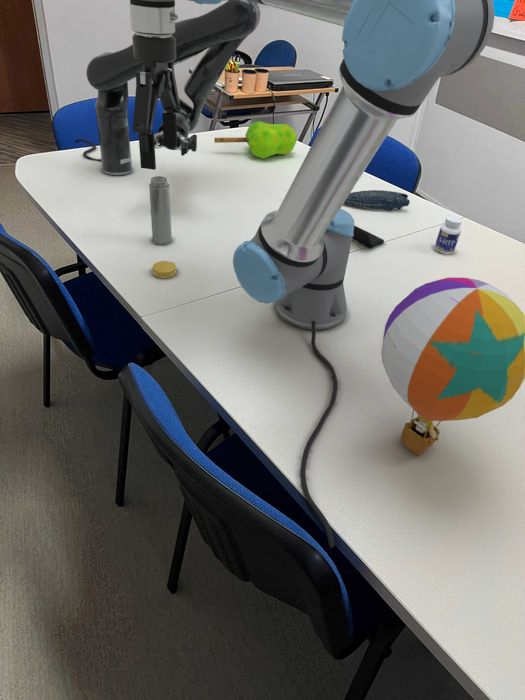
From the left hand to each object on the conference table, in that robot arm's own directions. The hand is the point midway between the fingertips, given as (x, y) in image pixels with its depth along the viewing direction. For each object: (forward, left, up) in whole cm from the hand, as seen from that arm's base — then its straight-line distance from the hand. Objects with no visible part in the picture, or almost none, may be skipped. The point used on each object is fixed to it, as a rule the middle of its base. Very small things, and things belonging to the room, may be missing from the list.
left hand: (165, 150), depth 129 cm
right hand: (+25, -8, +7) cm, 28 cm away
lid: (+25, -8, -18) cm, 32 cm away
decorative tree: (-46, +47, -19) cm, 68 cm away
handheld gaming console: (+25, +46, -19) cm, 55 cm away
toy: (+90, +14, -19) cm, 93 cm away
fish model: (+6, +63, -19) cm, 66 cm away
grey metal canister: (+10, -4, -19) cm, 22 cm away
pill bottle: (+36, +66, -19) cm, 78 cm away
